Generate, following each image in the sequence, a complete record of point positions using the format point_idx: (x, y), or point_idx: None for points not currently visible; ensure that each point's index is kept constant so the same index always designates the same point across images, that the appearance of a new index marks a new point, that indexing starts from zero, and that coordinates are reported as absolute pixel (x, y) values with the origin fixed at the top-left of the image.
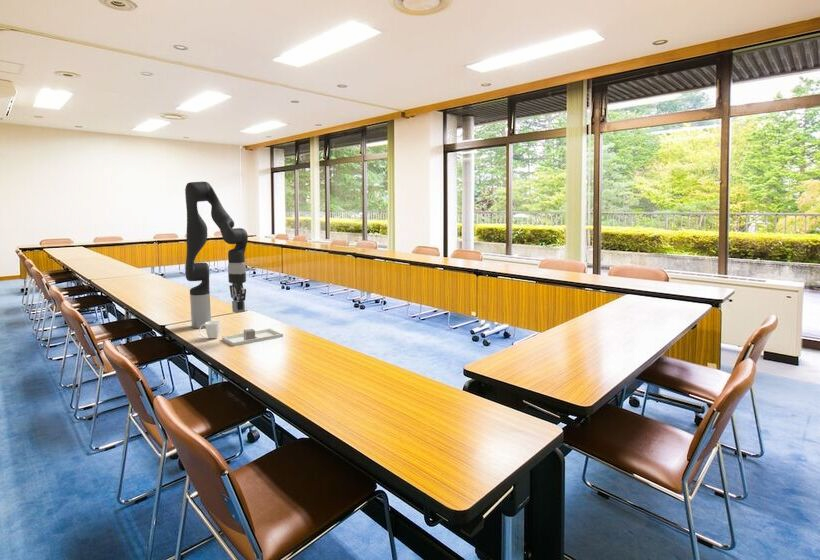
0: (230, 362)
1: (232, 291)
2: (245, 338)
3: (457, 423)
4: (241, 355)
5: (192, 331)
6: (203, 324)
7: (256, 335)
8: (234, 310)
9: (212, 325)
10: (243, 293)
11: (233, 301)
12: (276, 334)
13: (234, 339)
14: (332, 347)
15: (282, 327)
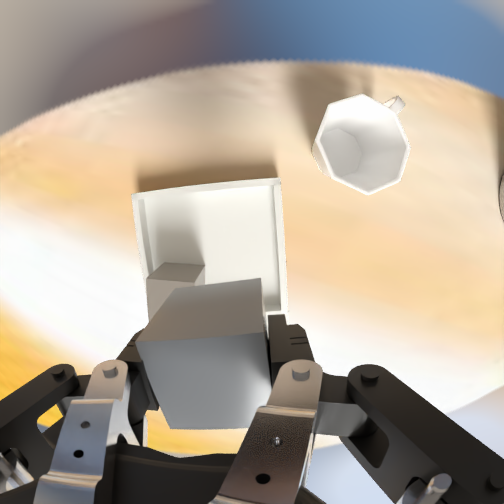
0: (10, 148)
1: (273, 472)
2: (172, 267)
3: None
4: (40, 194)
5: (484, 141)
6: (393, 104)
7: None
8: (212, 289)
9: (320, 126)
10: (21, 457)
11: (214, 337)
12: None
13: (249, 232)
14: (48, 417)
15: (324, 436)
